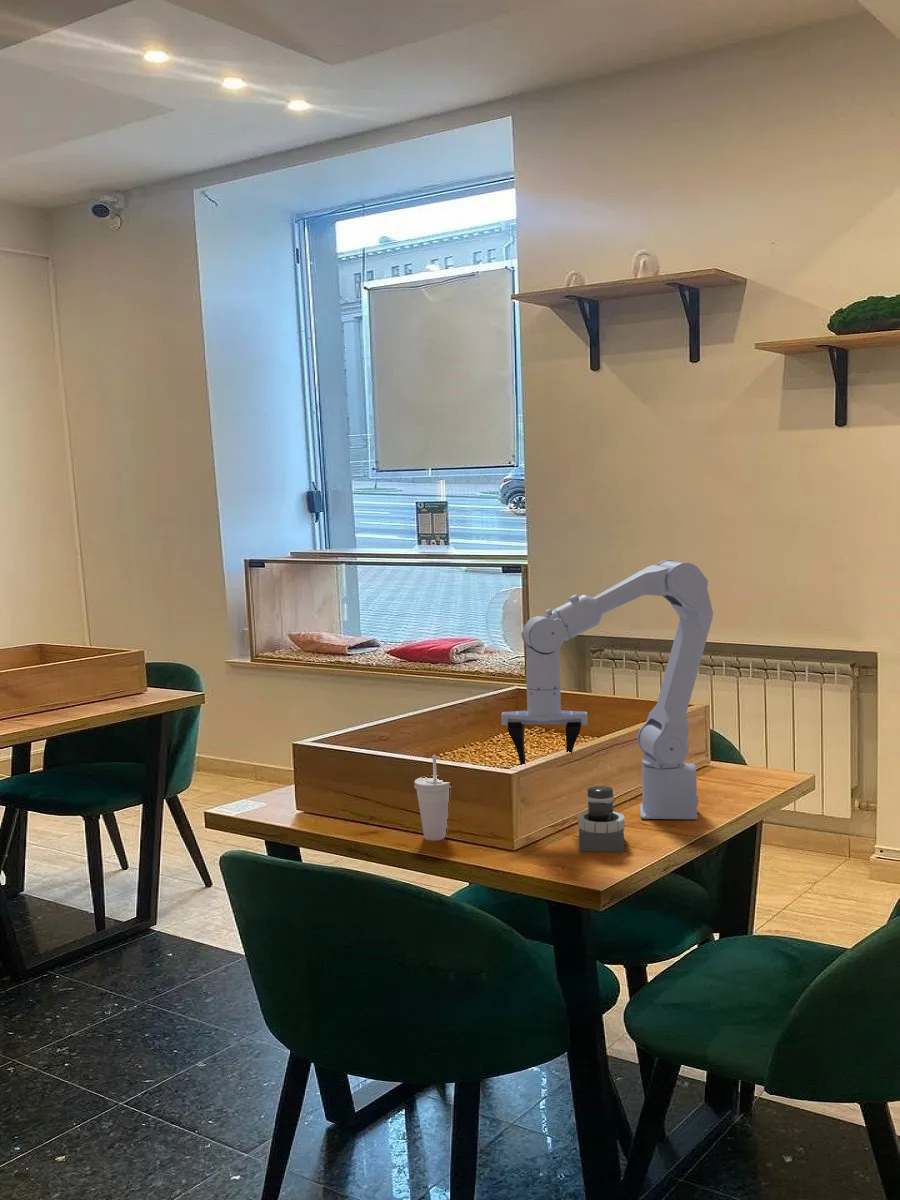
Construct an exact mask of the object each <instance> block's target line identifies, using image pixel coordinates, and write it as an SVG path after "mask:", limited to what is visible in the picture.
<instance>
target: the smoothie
mask: <svg viewBox="0 0 900 1200" xmlns="http://www.w3.org/2000/svg"><path fill="white" fill-rule="evenodd" d="M432 773H433V774H432V776H433V778H427V777H425V776H424V777H425V778H422V777H423V776H421V777H418V778H416V779H415V780H414V786H413V787H414V789H415V790H416V795H417V800H418V808H419V812H420V813H419V815H420V820H421V827H422V832H423V839H424V840H427V841H433V842H434V841H442V839H443V840H445V839H446V838H445V835H446V828H447V829H448V824H447V819H448V820H449V813H448V802H449V788H452V787H451V786H450V785H449V784H450V782H443V780H439V779H437V776H438V775H437V754H432ZM449 803H450V802H449ZM446 836H447V835H446ZM444 838H445V839H444Z"/></svg>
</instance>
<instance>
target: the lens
mask: <svg viewBox="0 0 900 1200" xmlns="http://www.w3.org/2000/svg"><path fill="white" fill-rule="evenodd" d="M614 796H615V795H614V790H613V788H612V787H610V786H606V785H605V786H604V785H597V786H596V785H595V786H594V785H593V786H590V787H588V788H587V795H586V801H587V812H588V821H594V822H610V821H613V812H614V799H615V798H614Z"/></svg>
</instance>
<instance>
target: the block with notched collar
mask: <svg viewBox="0 0 900 1200" xmlns="http://www.w3.org/2000/svg"><path fill="white" fill-rule="evenodd" d="M577 819H578V820H577V821H578V823H577V824H578V826H577V827H578V848H579V849H578V850H579V852H616V853H617V852H625V834H624V833H625V832H624V831H625V830H624V829H625V826H626V825H625V815H624V814H622V812H621V813H620V812H617V811H613V821H610V822H594V821H588V811H584V812H582V813H579V814H578V817H577Z"/></svg>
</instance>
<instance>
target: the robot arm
mask: <svg viewBox="0 0 900 1200" xmlns="http://www.w3.org/2000/svg"><path fill="white" fill-rule="evenodd" d="M708 585H709V580H708V579H707V577H706V576H705V575H704V573H703V571H701V569H700V568H699V567H698V566H697V565H695V564H693V563H691V562H681V561H677V560H673V559H665V560H662V561H659V562H658V563H657V564H653V565H649V566H647V567H645V568H643V569H641V570H640V571H638V572H635V573H634V574H632V575H630V576H629V577H627V578H625V579H623V580H622V581H620V582H618V583H616V584H614V585H612V586H610V587H609V588H608V589H606V590H604V591H603V592H602V591H601V592H600V593H598V594H597V595H596V596H594V597H592V596H589V595H587V594H581V595H580V596H579V595H577V594H574V595H572V596H571V595H570V596H569V597H568V598H569V601H568V602H566V603H563V604H562V605H559V606H558V607H556V608H554V609H551V608H548V609H546V610H545V611H544V614H545V616H544V615H537V616H534V617H531V618H530V619H528V621H527V622H526V624H524V626H523V630H522V632H521V638H522V641H523V643H524V644H525V645H526V660H525V661H526V662H525V668H526V672H525V673H526V674H525V675H526V702H527V703H526V705H527V710H516V711H502V713H501V715H500V719H501V726H507V732H508V734H509V736H510V738H511V740H512V742H513V744H514V747H515V749H516V752H517V755H518V756H517V757H518V760H519V765H522V764H525V765H526V750H525V725H565V744H566V746H565V747H566V749H565V753H566V752H568V751H569V752H571V753H572V754H573V750H574V747H575V743H576V742H577V739H578V737H579V735H580V732H581V729H582V726H588V712H587V711H575V710H562V699H561V698H562V696H561V694H562V693H561V691H562V690H561V661H560V648H561V647H562V646H563V643H564V641H565V642H566V641H569V640H571V639H574V638H575V637H577V636H579V635H581V634H582V633H585V632H586V631H588V630H590V629H592V628H595V627H596V626H598V625H599V624H600V622H601V618H602V616H603V615H604V614H606V613H608V612H610V611H612V610H615V609H617V608H619V607H621V606H623V605H625V604H627V603H629V602H632V601H634V600H637V599H639V598H640V597H643V596H654V597H655V596H656V597H663V598H664V599H665V600H667V601H668V602H669V603H670V605H671V606H672V608H673V610H674V611H675V612H676V614H677V615H678V617H679V621H678V624H677V627H676V628H677V629H676V631H675V635H674V639H673V643H672V646H671V651H670V653H669V657H668V660H667V661H668V662H667V665H666V669H665V673H664V676H663V679H662V680H663V681H662V683H661V687H660V691H659V694H658V699H657V701H656V705H654V706H653V708H652V709H651V710H650V711H649V713H648V716H647V718H646V721H645V723H643V725H642V726H641V727H640V728H639V730H638V732H637V739H636V740H637V744H638V747H639V749H640V750H641V751H642V752H643V757H642V759H641V781H642V782H641V783H642V784H641V786H642V787H641V791H642V799H641V800H642V801H641V802H642V803H640V804H639V811H640V813H639V814H640V819H642V820H645V819H647V820H697V819H698V806H699V798H698V797H699V796H698V795H697V793H698V792H697V791H698V790H697V789H698V787H697V780H698V779H697V767H696V764H695V763H687V762H685V760H686V759H687V756H688V755H689V750H690V748H689V747H690V746H689V740H688V733H689V730H690V725H689V721H688V716H687V712H688V709H689V705H690V702H691V698H692V693H693V690H694V688H695V687H694V686H695V683H696V681H697V680H696V679H697V676H698V672H699V670H700V665H701V661H702V657H703V654H704V650H705V646H706V643H707V639H708V636H709V632H710V628H711V625H712V621H713V616H714V611H713V607H712V603H711V598H710V593H709V590H708Z"/></svg>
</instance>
